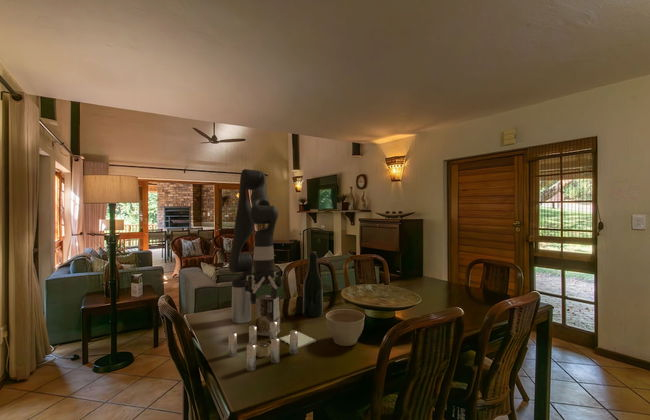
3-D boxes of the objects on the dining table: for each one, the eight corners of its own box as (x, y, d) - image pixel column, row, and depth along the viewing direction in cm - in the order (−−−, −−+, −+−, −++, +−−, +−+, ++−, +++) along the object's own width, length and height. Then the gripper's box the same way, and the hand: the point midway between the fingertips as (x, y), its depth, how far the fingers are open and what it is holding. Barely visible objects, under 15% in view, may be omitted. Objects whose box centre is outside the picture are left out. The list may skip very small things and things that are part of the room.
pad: (279, 339, 129) (279, 338, 129) (298, 333, 136) (298, 331, 136) (296, 348, 120) (296, 347, 120) (316, 341, 127) (316, 340, 127)
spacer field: (225, 353, 116) (226, 332, 116) (273, 338, 130) (273, 319, 130) (250, 373, 102) (250, 349, 102) (300, 353, 116) (300, 332, 116)
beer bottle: (298, 314, 161) (298, 251, 161) (312, 310, 168) (312, 250, 169) (313, 319, 154) (313, 253, 154) (326, 314, 162) (327, 251, 162)
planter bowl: (319, 337, 131) (319, 312, 131) (353, 331, 138) (353, 307, 138) (335, 353, 117) (335, 324, 117) (372, 346, 123) (372, 318, 123)
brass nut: (253, 353, 116) (253, 344, 116) (265, 349, 120) (265, 340, 120) (261, 358, 112) (261, 349, 112) (273, 354, 115) (273, 345, 115)
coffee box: (280, 332, 137) (280, 295, 138) (273, 337, 131) (273, 299, 131) (262, 329, 140) (262, 294, 140) (255, 334, 134) (255, 297, 134)
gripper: (274, 255, 124) (274, 295, 124) (241, 258, 114) (241, 302, 114) (285, 257, 118) (284, 299, 118) (251, 261, 109) (251, 306, 109)
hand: (263, 300), depth 116 cm, fingers open, 8 cm apart
